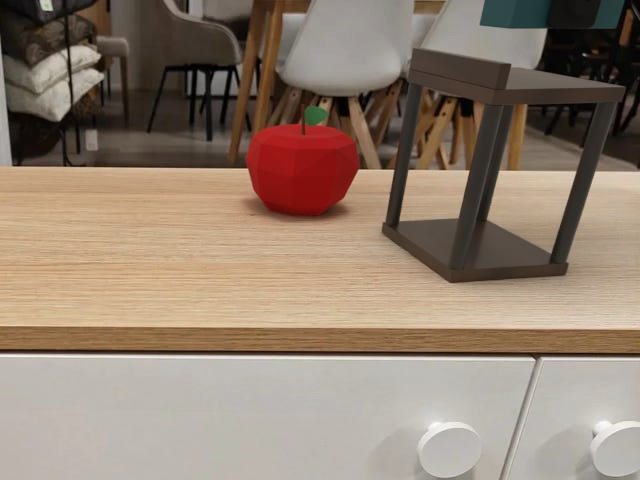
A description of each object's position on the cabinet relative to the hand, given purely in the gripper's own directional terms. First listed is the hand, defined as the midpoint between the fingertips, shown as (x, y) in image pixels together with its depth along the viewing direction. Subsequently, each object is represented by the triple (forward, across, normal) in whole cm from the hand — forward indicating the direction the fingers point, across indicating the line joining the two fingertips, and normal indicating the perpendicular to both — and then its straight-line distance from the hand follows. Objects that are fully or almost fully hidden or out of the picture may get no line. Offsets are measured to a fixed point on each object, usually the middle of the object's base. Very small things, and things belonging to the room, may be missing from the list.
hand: (548, 22), depth 47 cm
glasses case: (0, 0, 0) cm, 0 cm away
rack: (+18, +3, 0) cm, 18 cm away
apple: (+18, +18, +10) cm, 27 cm away
